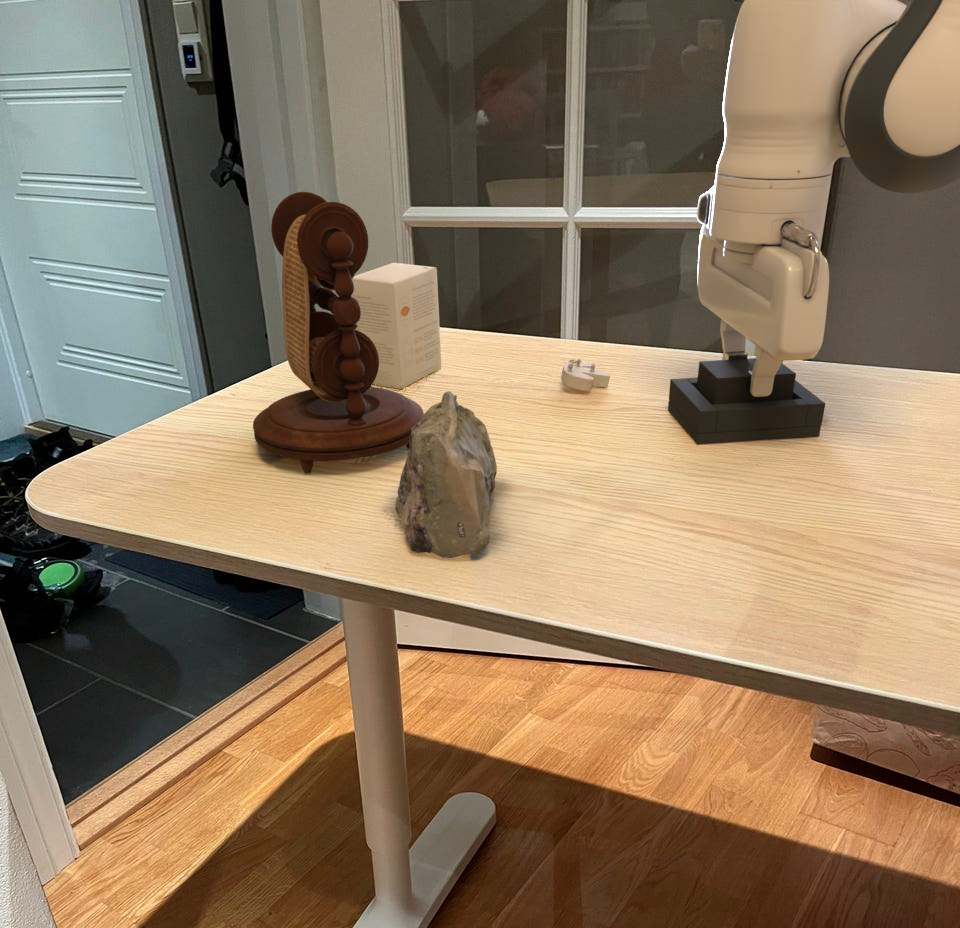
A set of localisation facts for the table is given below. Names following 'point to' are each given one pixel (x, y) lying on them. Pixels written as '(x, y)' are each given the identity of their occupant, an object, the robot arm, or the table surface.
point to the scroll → (328, 344)
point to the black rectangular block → (739, 382)
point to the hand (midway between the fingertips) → (745, 382)
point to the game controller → (581, 375)
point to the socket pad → (744, 415)
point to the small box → (400, 321)
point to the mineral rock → (447, 482)
